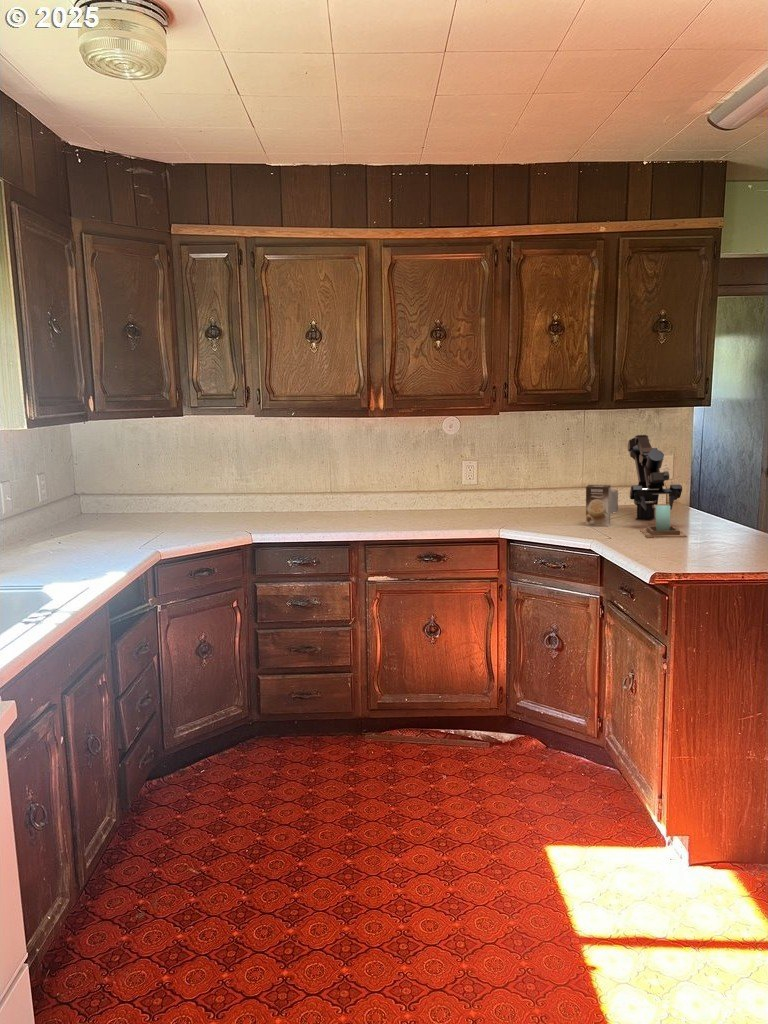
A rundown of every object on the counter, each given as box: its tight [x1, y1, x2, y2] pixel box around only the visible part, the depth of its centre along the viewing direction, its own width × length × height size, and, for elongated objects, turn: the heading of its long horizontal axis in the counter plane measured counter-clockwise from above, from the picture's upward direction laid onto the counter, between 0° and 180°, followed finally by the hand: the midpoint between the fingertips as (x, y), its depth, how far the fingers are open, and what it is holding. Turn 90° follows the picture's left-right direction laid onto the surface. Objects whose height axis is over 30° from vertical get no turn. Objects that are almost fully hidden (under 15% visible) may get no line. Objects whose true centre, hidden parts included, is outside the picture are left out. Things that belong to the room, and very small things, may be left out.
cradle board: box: [639, 525, 688, 539], centre depth 285 cm, size 14×14×2 cm
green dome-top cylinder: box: [655, 504, 671, 531], centre depth 285 cm, size 5×5×10 cm
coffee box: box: [585, 484, 612, 527], centre depth 309 cm, size 9×6×16 cm
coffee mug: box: [610, 488, 619, 513], centre depth 341 cm, size 13×10×10 cm
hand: (658, 509), depth 292 cm, fingers open, 9 cm apart
